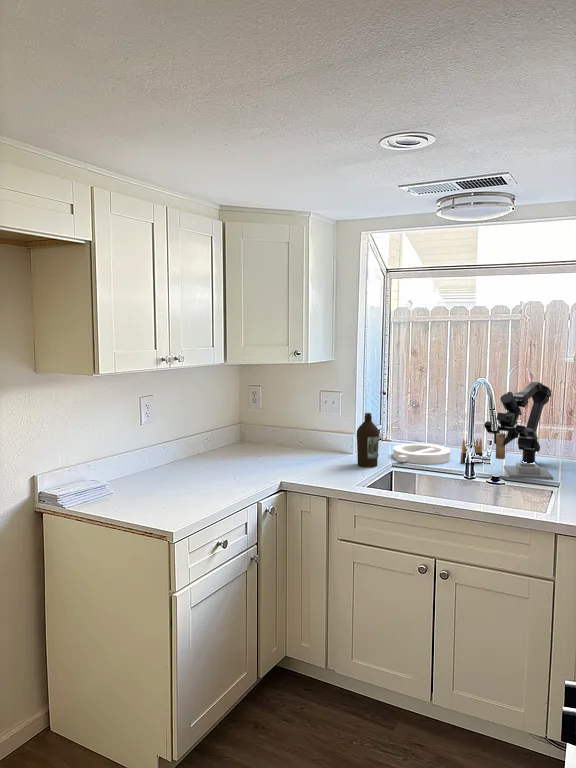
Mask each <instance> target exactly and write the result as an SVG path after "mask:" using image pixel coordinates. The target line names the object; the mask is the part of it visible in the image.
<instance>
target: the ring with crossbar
mask: <svg viewBox="0 0 576 768" xmlns="http://www.w3.org/2000/svg"><path fill="white" fill-rule="evenodd" d="M392 451H393V453H392V456H393V459H395V460H397V462H402V463H409V464H418V465H436V464H444V463H448V462H450V460H451V449H450V448H449V447H446V446H443V445H442V446H441V445H440V444H439V445H438V444H432V443H431V444H430V443H404V444H398V445H395V446H394V447H393V450H392Z"/></svg>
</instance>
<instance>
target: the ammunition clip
mask: <svg viewBox="0 0 576 768" xmlns="http://www.w3.org/2000/svg"><path fill="white" fill-rule="evenodd" d="M473 439H474V447H475V453H476V455H479V456H482V457H483V440H482V438H481V437H480V439H479V438H476V440H475V438H473ZM466 444H467V439H466V440H465V439H464V438H463V439H462V445H461V453H460V464H464V463H465V458H466V451H467V449H466ZM465 464H466V463H465Z"/></svg>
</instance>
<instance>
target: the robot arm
mask: <svg viewBox="0 0 576 768" xmlns="http://www.w3.org/2000/svg"><path fill="white" fill-rule="evenodd" d="M551 392H552V390H551V389H550V387H548V386H546V385H545V384H543V383H542V382H540V381H530V382H529V384H528V385H527V386H526V387H524V388H523V389H521V390H520V391H518V392H514V393H513V392H512V391H507V392H506V393H505V394H503V395H502V396H500V402H501V404H502V407H503V408H504V410H505V411H506V412H497V415H496V420H497V421H498V424H497V425H498V430H497V431H492V430H491V422H492V421H489V420H487V421H485V423H484V425H483V426H484V428H485V430H486V431H487V433H489V434H493V435H494V436H493V443H494V445H496V434H497V433H501V432H507V435H506V439H505V441H504V445H505V446H507V445H508V444H509V443H511V442H512V441H514V440H515V439H517V447H518V450H519V451H520V450H521V451H522V459H521V460H522V461H524V462H527V463H533V462H536V452H537V453H539V452H540V450H541V444H540V443H539V441H538V439H539V437H538V435H537V430H538V426H539V423H540V419H541V416H542V414H543V408H544V406H545V405H546V404H547V403H548V402H549V401H550V399H549V397H550V398H551V397H552V394H551ZM529 399H532V402H533V403H532V406H531V409H530V412H529V417H528V420H527V423H526V425H522V424H518V420H519V416H522V409H521V408H526V407H527V405H528V404H529Z"/></svg>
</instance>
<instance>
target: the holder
mask: <svg viewBox="0 0 576 768" xmlns="http://www.w3.org/2000/svg"><path fill="white" fill-rule="evenodd" d="M503 468H505V469H504V470H505V472H506V473H507V476H508V478H521V479H526V478H527V479H538V480H539V479H540V480H542V479H543V480H554V476H553V475H552V474H551V473H550V471H549V470H548V469H547V468H546V467H545V466H544V467H541V466H539V464H538V463H537V464H530V463H522V462H515V465H503Z"/></svg>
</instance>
